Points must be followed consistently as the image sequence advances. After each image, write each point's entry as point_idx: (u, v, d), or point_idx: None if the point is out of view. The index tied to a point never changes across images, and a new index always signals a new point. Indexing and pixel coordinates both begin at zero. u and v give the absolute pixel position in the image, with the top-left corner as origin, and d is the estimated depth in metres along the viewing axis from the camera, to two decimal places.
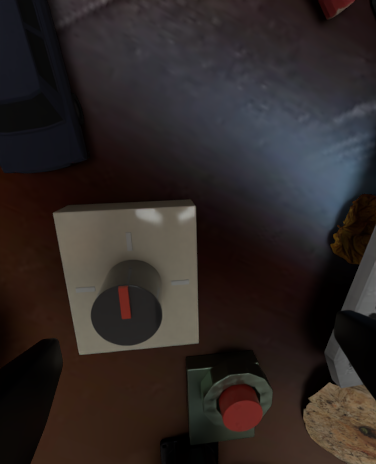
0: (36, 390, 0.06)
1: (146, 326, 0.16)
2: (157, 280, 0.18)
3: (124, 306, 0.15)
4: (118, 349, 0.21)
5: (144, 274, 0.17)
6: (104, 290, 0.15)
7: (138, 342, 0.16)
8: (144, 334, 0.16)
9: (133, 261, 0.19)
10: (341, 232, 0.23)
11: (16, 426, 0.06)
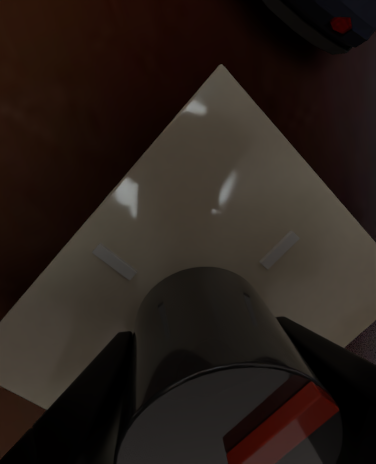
0: None
1: None
2: None
3: (275, 448, 0.04)
4: None
5: None
6: (258, 357, 0.04)
7: None
8: None
9: (256, 292, 0.08)
10: None
11: (118, 414, 0.06)
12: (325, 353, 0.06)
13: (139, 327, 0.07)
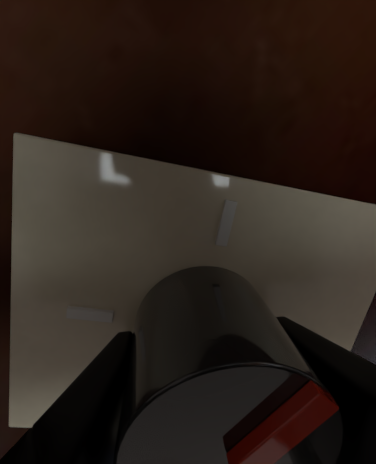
0: None
1: None
2: None
3: (275, 447, 0.04)
4: (17, 251, 0.07)
5: None
6: (258, 356, 0.04)
7: None
8: None
9: None
10: None
11: (118, 413, 0.06)
12: (325, 353, 0.06)
13: (139, 326, 0.07)
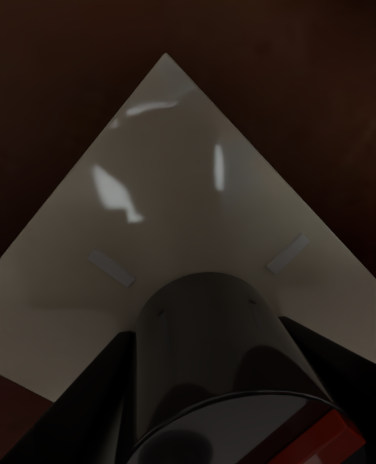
0: None
1: None
2: None
3: None
4: (86, 164, 0.06)
5: None
6: (274, 381, 0.04)
7: None
8: None
9: (264, 299, 0.07)
10: None
11: (119, 413, 0.06)
12: (327, 353, 0.06)
13: (138, 339, 0.06)
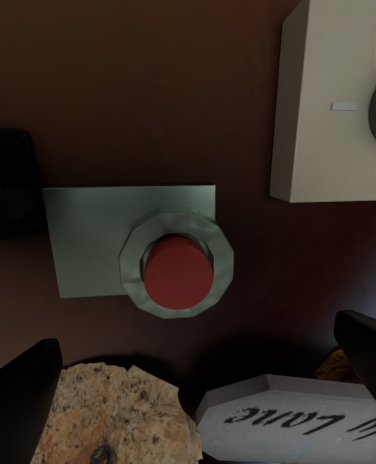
0: (36, 390, 0.06)
1: None
2: None
3: None
4: (307, 67, 0.13)
5: None
6: None
7: None
8: None
9: None
10: None
11: (16, 426, 0.06)
12: None
13: None
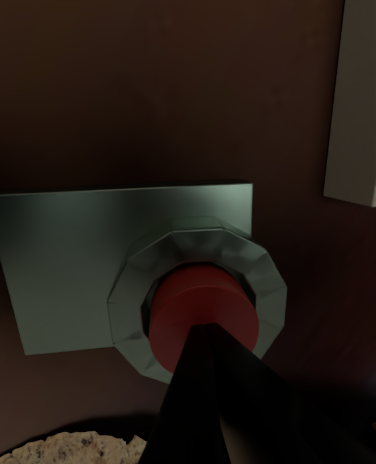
0: None
1: None
2: None
3: None
4: None
5: None
6: None
7: None
8: None
9: None
10: None
11: None
12: (235, 363, 0.06)
13: None
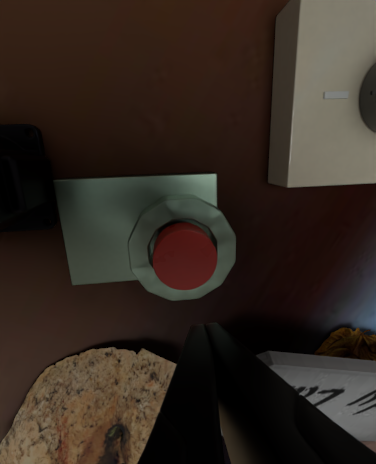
0: None
1: None
2: None
3: None
4: (300, 59, 0.13)
5: None
6: None
7: None
8: None
9: None
10: (355, 335, 0.22)
11: None
12: (236, 363, 0.06)
13: None
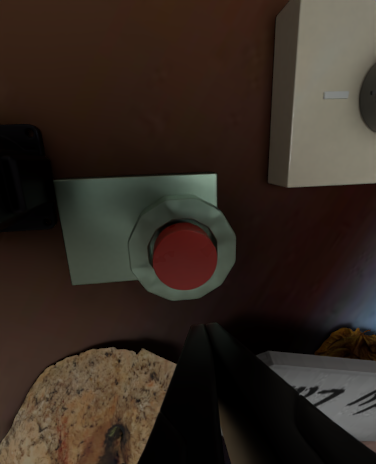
0: None
1: None
2: None
3: None
4: (300, 59, 0.13)
5: None
6: None
7: None
8: None
9: None
10: (356, 335, 0.22)
11: None
12: (235, 363, 0.06)
13: None
